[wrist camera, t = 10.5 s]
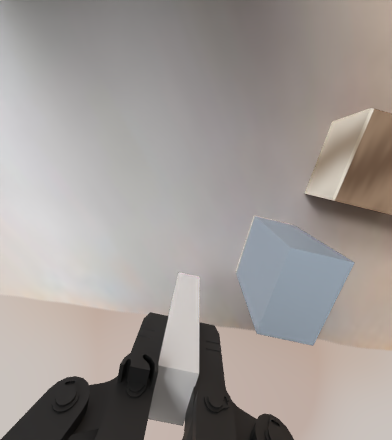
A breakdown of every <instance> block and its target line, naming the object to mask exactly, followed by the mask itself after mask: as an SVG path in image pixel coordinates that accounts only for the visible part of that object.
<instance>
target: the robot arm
mask: <svg viewBox="0 0 392 440" xmlns="http://www.w3.org/2000/svg"><path fill="white" fill-rule="evenodd" d="M199 315H200V277H199V276H194V275H190V274H185V273H181V272H178V276H177V280H176V284H175V289H174V293H173V297H172V301H171V306H170V310H169V314H168V316H164V315H160V314H155V313H151V312H150V313H149V314H148V315H147V316H146V317H145V318H144V320H143V322H142V325H141V328H140V330H139V333H138V336H137V338H136V341H135V343H134V346H133V348H132V351H131V353H130V354H129V355H127V356H126V357H125V358H124V359H123V361H122V363H121V364H120V369H119V374H118V376H117V377H116V378H114V379H113V380H111V381H108V382H105V383H100V384H94V385H88V382H87V381H86V380H84V379H83V378H80V377H76V376H74V377H67V378H65V379H63V380H61V381H59V382H57V383H56V384H55V385H53V386H52V387H51V388H50V389H49V390H48V391H47V392H46V393H45V394H44V395H43V396H42V397H41V398H40V399H39V400H38V401H37V402H36V403H35V404H34V405H33V406H32V407H31V409H30V410H29V411H28V412H27V413H26V414H25V415H24V416H23V417H22V418H21V419H20V420H19V421H18V422H17V423H16V424H15V425H14V426H13V427H12V428H11V429H10V430H9V432H7V434H6V435H5V436H4V437H3V438H2V439H1V440H144V435H145V430H146V425H147V421H148V419H151V420H156V421H161V422H167V423H171V424H176V425H182V426H183V423H184V420H185V429H184V431H185V432H184V436H183V439H182V440H294V439H293V437H292V435H291V434H290V432H289V431H288V429H287V427H286V426H285V425H284V424H283V423H282V422H281V421H280V420H279V419H278V418H276V417H274V416H273V415H269V414H262V415H260V416H259V417H258V419H256V418H254V417H252V416H250V415H249V414H247V413H246V412H244V411H243V410H241V409H240V408H238V407H237V406H236V405H235V404H234V403H233V402H232V400H231V398H230V396H229V394H228V393H227V391H226V387H225V381H224V372H223V363H222V355H221V346H220V337H219V333H218V331H217V329H216V327H215V326H214V325H209V324H205V323H200V322H199Z"/></svg>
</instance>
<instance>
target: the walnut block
mask: <svg viewBox="0 0 392 440" xmlns="http://www.w3.org/2000/svg"><path fill="white" fill-rule="evenodd" d="M305 194H309V195H313V196H317V197H321V198H325V199H329V200H333V201H337V202H341V203H345V204H349V205H353V206H357V207H361V208H365V209H369V210H373V211H377V212H381V213H385V214H389V215H392V114H391V113H388V112H384V111H380V110H377V109H373V108H369V109H366V110H364V111H361V112H358V113H355V114H352V115H349V116H346V117H344V118H341V119H338V120H335V121H332V124H331V126H330V129H329V131H328V134H327V137H326V139H325V142H324V144H323V147H322V149H321V152H320V155H319V157H318V160H317V162H316V165H315V168H314V170H313V173H312V175H311V178H310V181H309V183H308V186H307V188H306V191H305Z"/></svg>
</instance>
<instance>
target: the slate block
mask: <svg viewBox="0 0 392 440" xmlns="http://www.w3.org/2000/svg"><path fill="white" fill-rule="evenodd" d="M353 265H354V262H353V261H351V260H350V259H348V258H346V257H345V256H343V255H341V254H340V253H338V252H337V251H335V250H333V249H332V248H330V247H328V246H327V245H325V244H324V243H322V242H320V241H319V240H317V239H315V238H314V237H312V236H310V235H309V234H307V233H306V232H304V231H302V230H301V229H299V228H297V227H296V226H294V225H292V224H288V223H284V222H280V221H275V220H271V219H267V218H263V217H259V216H254V217H253V220H252V223H251V226H250V229H249V232H248V236H247V239H246V242H245V245H244V248H243V251H242V254H241V257H240V260H239V263H238V266H237V269H236V275H237V277H238V280H239V283H240V286H241V289H242V292H243V295H244V298H245V301H246V304H247V307H248V310H249V313H250V316H251V318H252V321H253V324H254V327H255V330H256V333H257V334H261V335H265V336H270V337H275V338H280V339H284V340H289V341H294V342H298V343H303V344H308V345H314V343H315V341H316V339H317V337H318V335H319V333H320V331H321V329H322V327H323V325H324V323H325V321H326V319H327V317H328V315H329V313H330V311H331V309H332V307H333V305H334V303H335V301H336V299H337V297H338V295H339V293H340V291H341V289H342V287H343V285H344V283H345V281H346V279H347V277H348V275H349V273H350V271H351V269H352V267H353Z"/></svg>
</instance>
